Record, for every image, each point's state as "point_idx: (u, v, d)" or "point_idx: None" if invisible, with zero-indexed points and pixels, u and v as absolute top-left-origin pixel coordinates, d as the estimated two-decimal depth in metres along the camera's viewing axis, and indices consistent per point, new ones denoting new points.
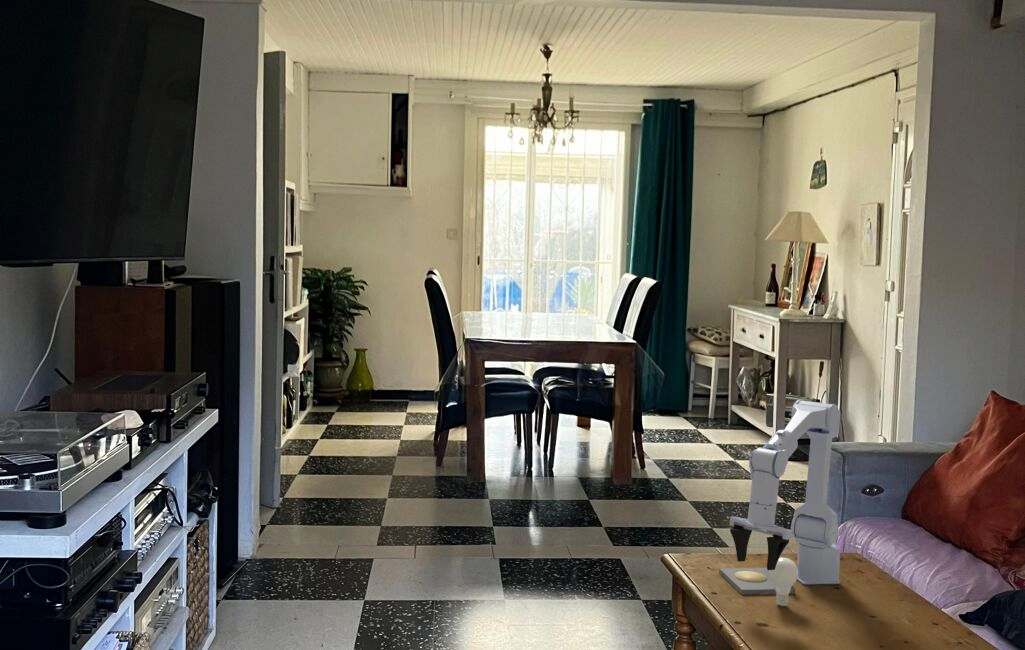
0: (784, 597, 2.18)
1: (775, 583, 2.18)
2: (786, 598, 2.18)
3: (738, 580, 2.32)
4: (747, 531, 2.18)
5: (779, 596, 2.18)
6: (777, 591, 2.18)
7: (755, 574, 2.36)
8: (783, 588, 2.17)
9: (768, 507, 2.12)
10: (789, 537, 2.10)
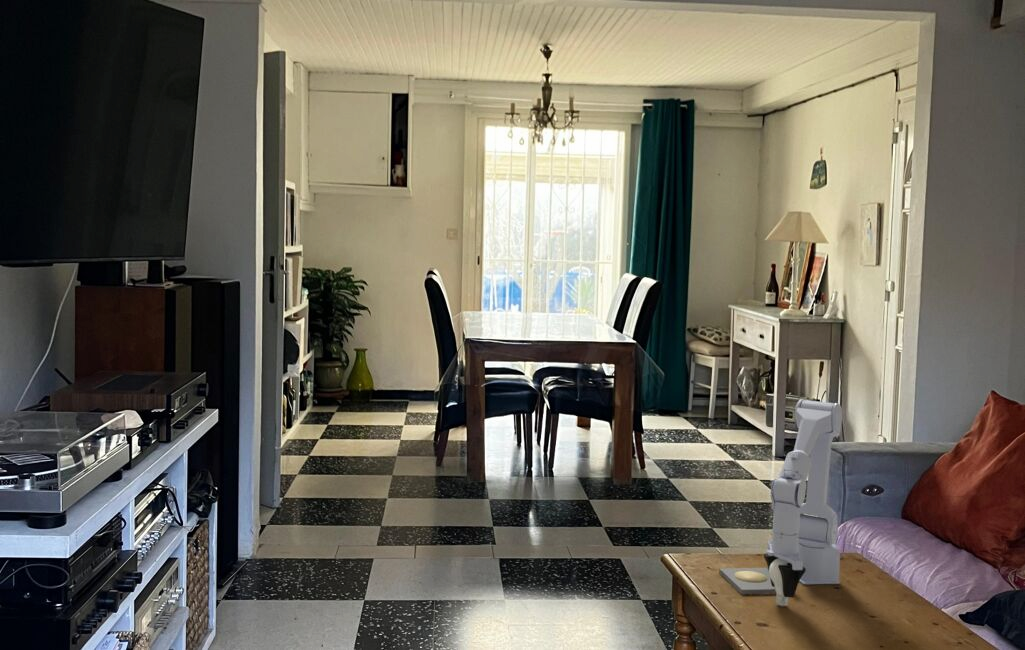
0: (784, 597, 2.18)
1: (775, 583, 2.18)
2: (786, 598, 2.18)
3: (738, 580, 2.32)
4: None
5: (779, 596, 2.18)
6: (777, 591, 2.18)
7: (755, 574, 2.36)
8: None
9: (783, 536, 2.16)
10: (799, 568, 2.11)
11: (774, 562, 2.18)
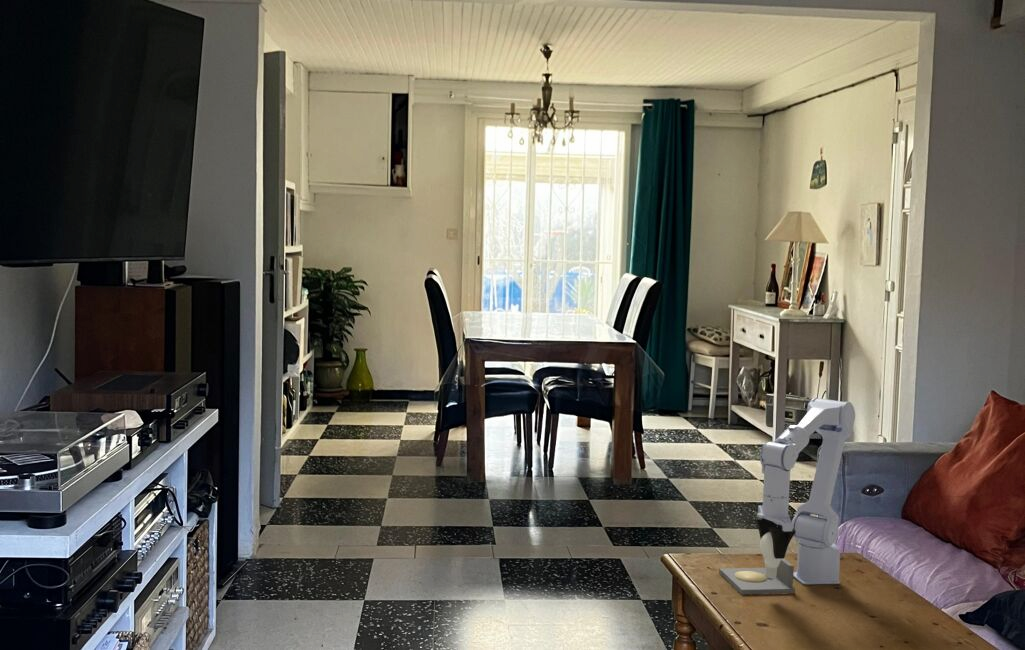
0: (773, 570, 2.23)
1: (765, 556, 2.23)
2: (775, 571, 2.23)
3: (738, 580, 2.32)
4: (772, 521, 2.27)
5: (768, 569, 2.23)
6: (766, 564, 2.23)
7: (755, 574, 2.36)
8: (772, 561, 2.22)
9: (774, 499, 2.20)
10: (789, 529, 2.16)
11: (765, 535, 2.24)
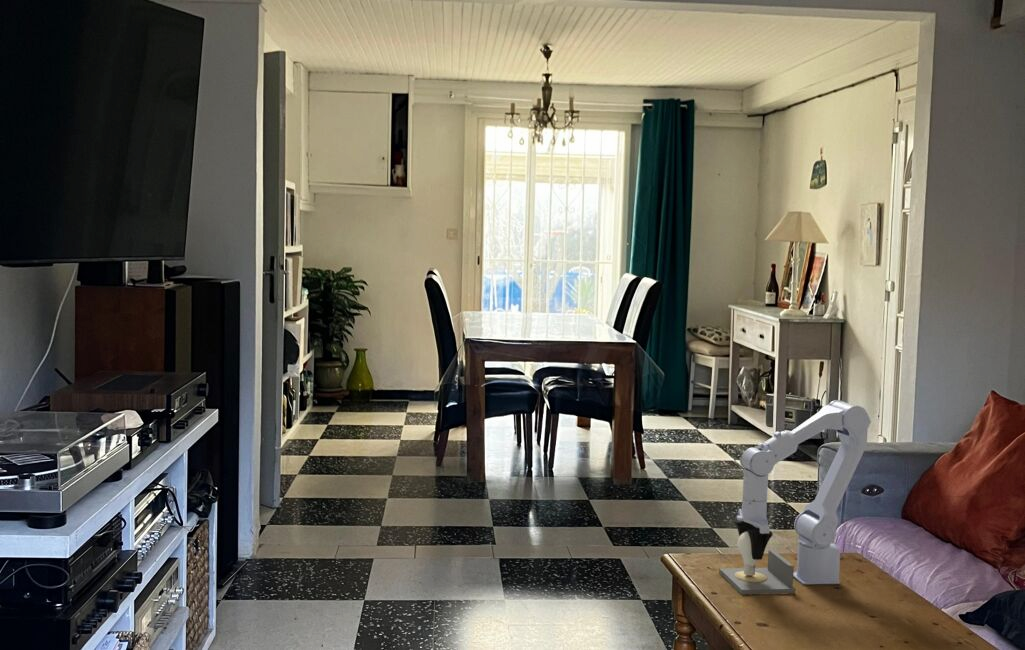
0: (751, 567, 2.33)
1: (743, 554, 2.33)
2: (753, 568, 2.34)
3: (738, 580, 2.32)
4: (751, 523, 2.37)
5: (746, 566, 2.34)
6: (745, 562, 2.34)
7: (755, 574, 2.36)
8: (750, 559, 2.33)
9: (752, 503, 2.31)
10: (766, 531, 2.27)
11: (742, 534, 2.34)
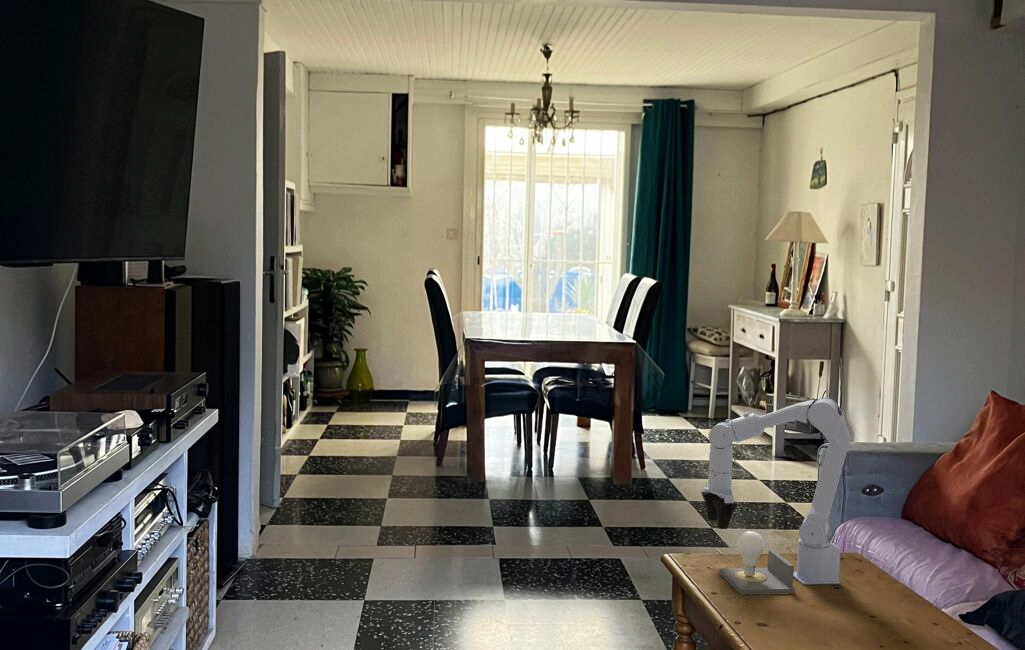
0: (751, 568, 2.33)
1: (743, 555, 2.33)
2: (753, 569, 2.33)
3: (738, 580, 2.32)
4: (717, 494, 2.50)
5: (746, 567, 2.34)
6: (744, 562, 2.34)
7: (755, 574, 2.36)
8: (750, 559, 2.33)
9: (717, 474, 2.43)
10: (730, 501, 2.39)
11: (742, 535, 2.34)
